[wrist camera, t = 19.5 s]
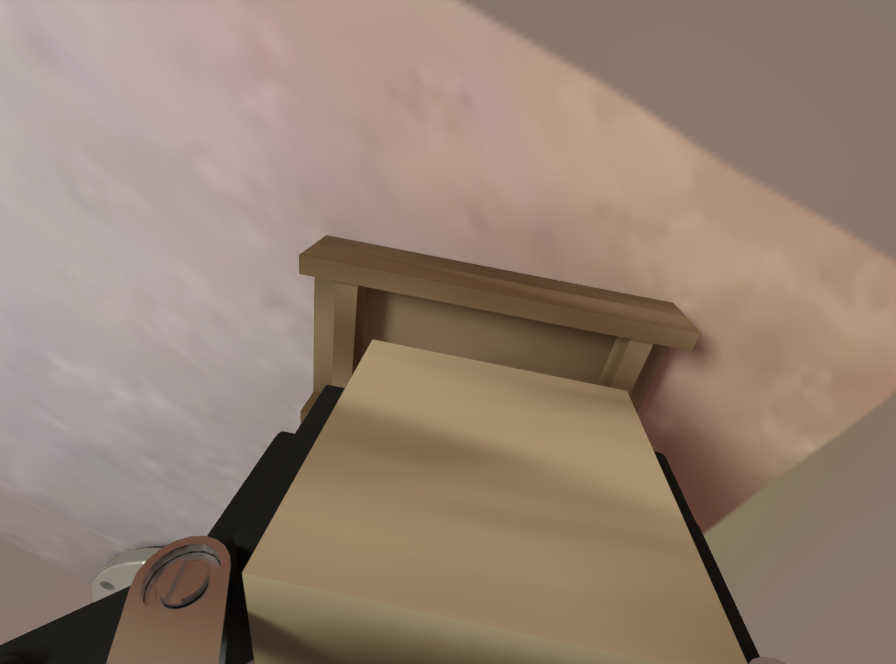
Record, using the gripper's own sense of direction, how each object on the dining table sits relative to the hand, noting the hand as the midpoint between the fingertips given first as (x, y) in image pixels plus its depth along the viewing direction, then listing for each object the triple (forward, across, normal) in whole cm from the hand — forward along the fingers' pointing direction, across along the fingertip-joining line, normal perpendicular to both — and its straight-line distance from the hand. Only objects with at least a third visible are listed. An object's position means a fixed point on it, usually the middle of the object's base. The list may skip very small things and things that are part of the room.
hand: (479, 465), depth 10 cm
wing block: (+1, 0, 0) cm, 1 cm away
